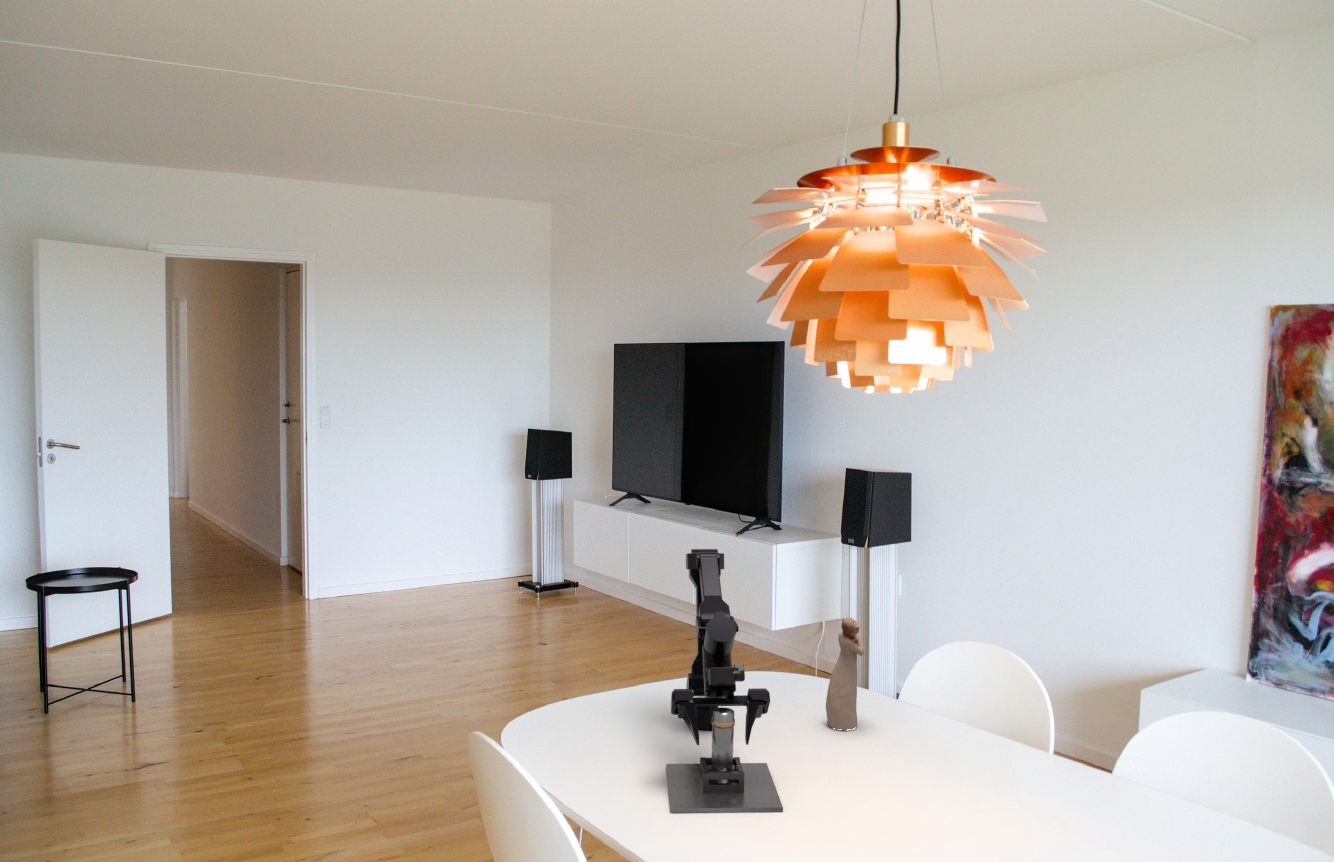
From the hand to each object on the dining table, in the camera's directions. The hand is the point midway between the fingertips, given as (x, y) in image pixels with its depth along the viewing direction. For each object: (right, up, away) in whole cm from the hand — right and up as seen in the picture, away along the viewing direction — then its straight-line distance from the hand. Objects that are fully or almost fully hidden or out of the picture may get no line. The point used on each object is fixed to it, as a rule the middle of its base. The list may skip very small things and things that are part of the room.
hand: (722, 744), depth 180 cm
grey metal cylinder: (0, -8, +2) cm, 8 cm away
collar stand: (0, -9, +2) cm, 9 cm away
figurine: (+29, -8, +36) cm, 47 cm away
